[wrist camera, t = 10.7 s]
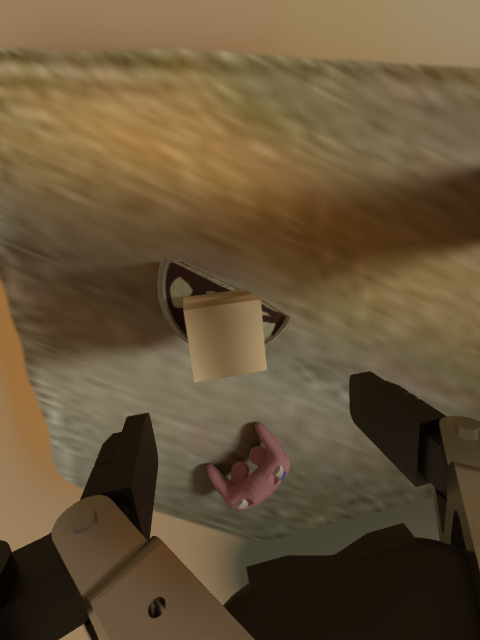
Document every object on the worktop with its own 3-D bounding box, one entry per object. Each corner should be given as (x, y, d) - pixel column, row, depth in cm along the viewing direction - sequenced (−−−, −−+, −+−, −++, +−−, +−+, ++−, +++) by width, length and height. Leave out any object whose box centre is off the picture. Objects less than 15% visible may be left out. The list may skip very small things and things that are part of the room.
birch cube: (245, 289, 24) (260, 299, 19) (250, 346, 25) (266, 370, 21) (183, 297, 23) (183, 310, 18) (192, 356, 25) (194, 382, 20)
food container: (144, 304, 33) (129, 328, 23) (167, 253, 32) (161, 256, 22) (242, 346, 36) (264, 382, 26) (265, 300, 35) (297, 320, 26)
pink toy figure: (219, 472, 41) (241, 524, 36) (200, 466, 38) (222, 522, 33) (272, 426, 41) (302, 472, 36) (258, 416, 38) (289, 464, 33)
